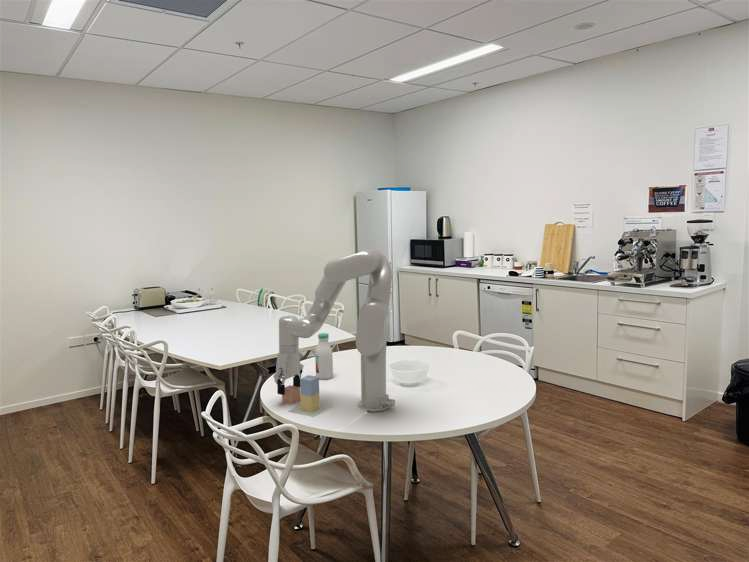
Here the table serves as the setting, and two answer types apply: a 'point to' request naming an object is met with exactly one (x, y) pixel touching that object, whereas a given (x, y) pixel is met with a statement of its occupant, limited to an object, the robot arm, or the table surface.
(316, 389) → the brick
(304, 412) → the build plate
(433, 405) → the table surface
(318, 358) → the milk bottle
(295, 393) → the brick
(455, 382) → the table surface
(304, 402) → the brick base
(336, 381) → the table surface
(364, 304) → the robot arm
